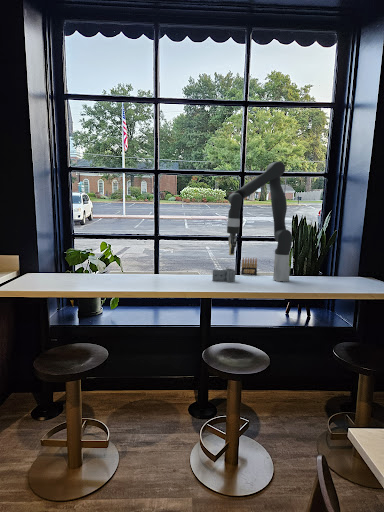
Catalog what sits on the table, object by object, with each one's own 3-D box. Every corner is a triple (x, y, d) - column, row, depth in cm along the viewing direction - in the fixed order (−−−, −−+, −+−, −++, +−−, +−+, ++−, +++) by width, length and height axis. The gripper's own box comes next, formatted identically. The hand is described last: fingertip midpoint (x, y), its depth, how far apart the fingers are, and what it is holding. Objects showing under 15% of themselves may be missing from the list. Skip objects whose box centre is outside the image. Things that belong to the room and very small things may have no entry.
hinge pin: (233, 254, 220) (234, 240, 219) (234, 255, 217) (235, 241, 216) (228, 254, 219) (229, 240, 218) (229, 255, 217) (230, 240, 215)
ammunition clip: (256, 274, 243) (257, 257, 241) (256, 275, 241) (257, 258, 239) (241, 274, 243) (241, 257, 241) (241, 274, 241) (242, 257, 239)
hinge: (230, 277, 232) (231, 266, 231) (236, 281, 218) (236, 270, 217) (209, 277, 231) (210, 266, 230) (213, 281, 217) (213, 270, 216)
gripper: (242, 226, 209) (240, 255, 212) (236, 225, 223) (234, 251, 225) (230, 226, 208) (228, 254, 211) (225, 224, 222) (223, 251, 224)
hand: (231, 253), depth 218 cm, fingers closed on hinge pin, 3 cm apart
